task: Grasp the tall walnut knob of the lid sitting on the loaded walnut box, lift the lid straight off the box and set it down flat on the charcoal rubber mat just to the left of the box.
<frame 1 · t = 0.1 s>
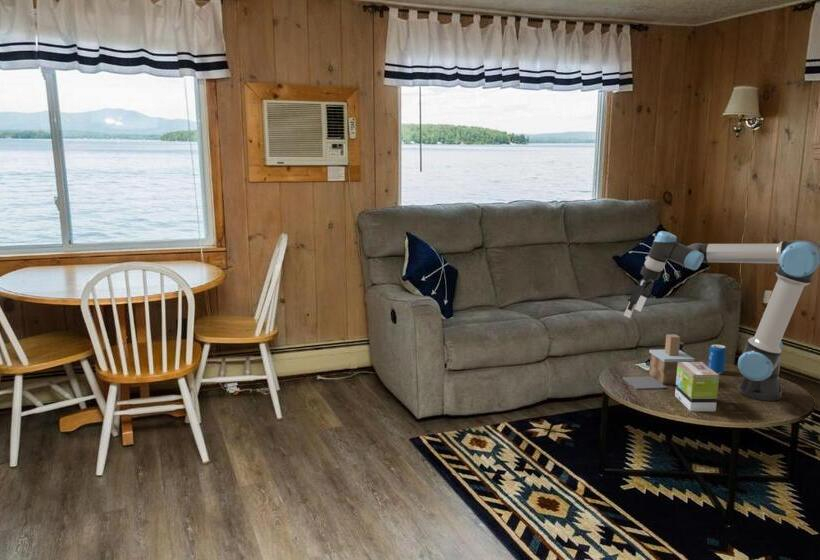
hand: (632, 313, 271), 28 cm above the table, tool tilted 20°, fingers open, 13 cm apart
lid: (671, 356, 271), point 10 cm above the table, touching box
tea box: (694, 404, 246), on the table
mat: (644, 383, 268), on the table
supplement bottle: (675, 369, 287), on the table
box: (669, 379, 273), on the table
beverage can: (715, 372, 283), on the table
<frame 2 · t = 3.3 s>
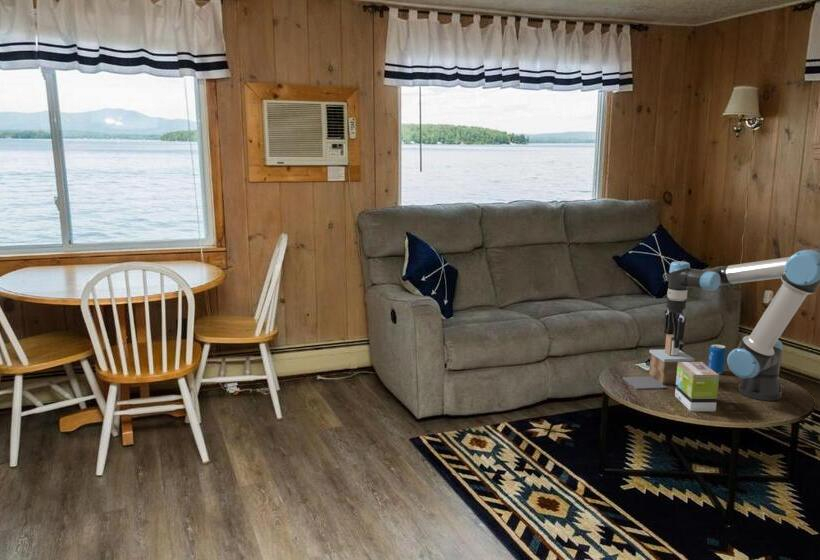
hand: (671, 353, 271), 12 cm above the table, tool pointing down, fingers closed on lid, 4 cm apart
lid: (671, 356, 271), point 10 cm above the table, touching gripper
everything else where it was.
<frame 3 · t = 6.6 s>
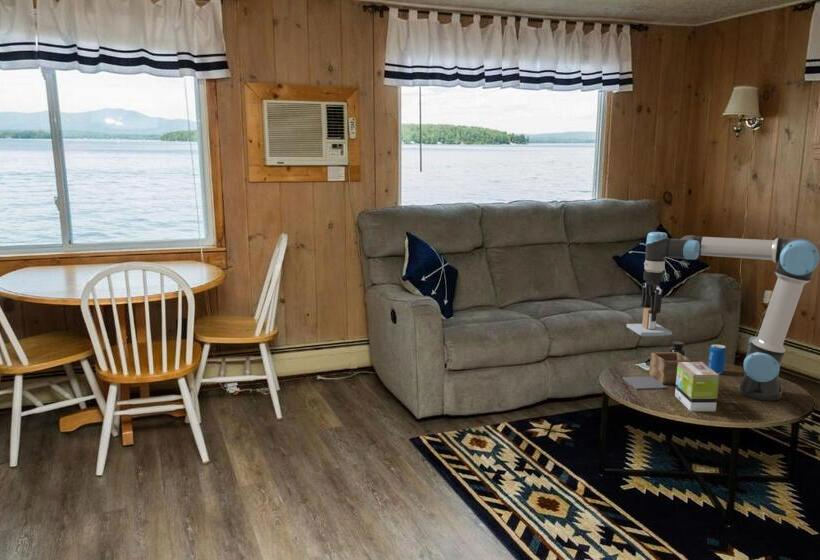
hand: (649, 326, 263), 24 cm above the table, tool pointing down, fingers closed on lid, 4 cm apart
lid: (648, 330, 263), point 23 cm above the table, touching gripper
everything else where it was.
when the fingers open (5 cm above the table, at t = 10.2 s): lid drops 1 cm, resting on mat.
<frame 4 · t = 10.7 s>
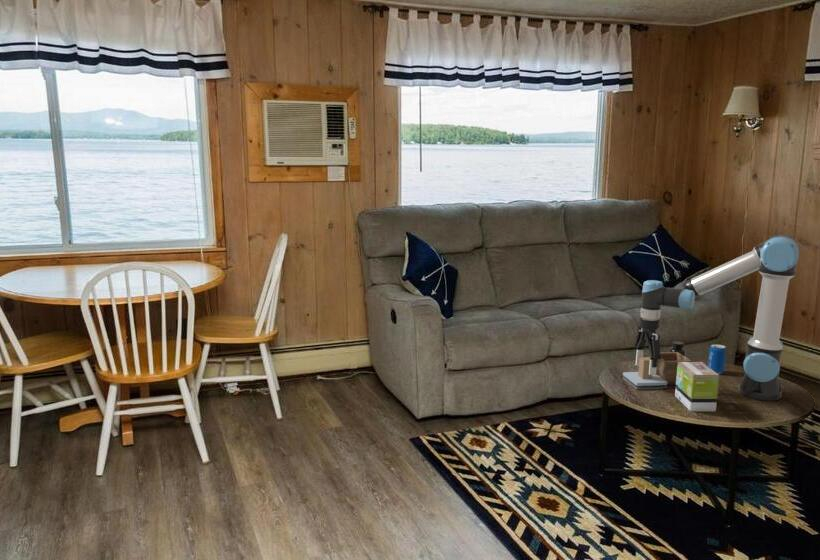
hand: (645, 369, 266), 6 cm above the table, tool pointing down, fingers open, 11 cm apart
lid: (644, 379, 267), point 2 cm above the table, touching mat
everything else where it was.
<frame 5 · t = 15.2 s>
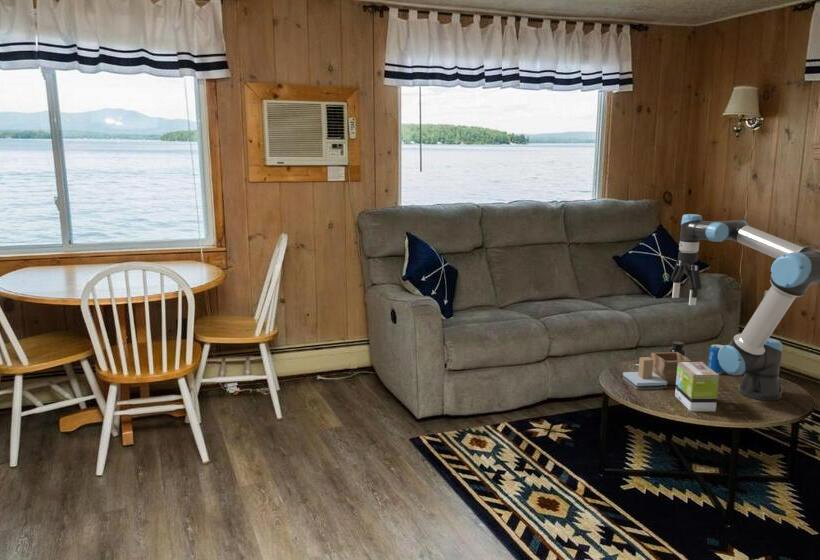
hand: (683, 301, 272), 33 cm above the table, tool pointing down, fingers open, 13 cm apart
nothing on the table moved.
at the end: lid inside the target area on the mat (0.0 cm from its centre), point 1.6 cm above the mat's base; lid tilted 0°; the gripper is holding nothing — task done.
